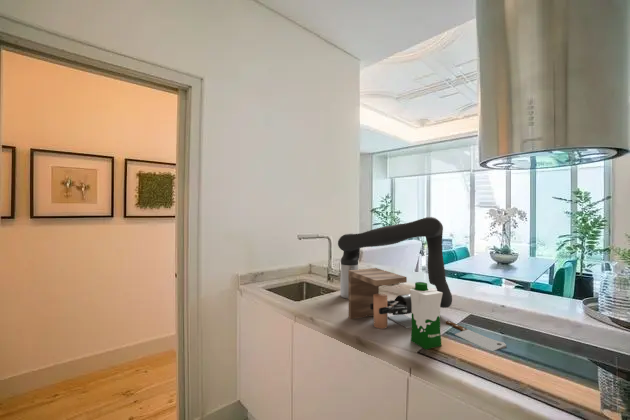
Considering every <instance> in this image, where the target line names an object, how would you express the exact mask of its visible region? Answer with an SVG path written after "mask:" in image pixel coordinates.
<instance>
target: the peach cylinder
mask: <svg viewBox="0 0 630 420" xmlns="http://www.w3.org/2000/svg"><path fill="white" fill-rule="evenodd" d="M387 300H388V295H387V294H386V293H380V292H379V293H378V294H374V295H373V312H374V315H373V327H374V328H376V329H381V330H382V329H384V330H385V329H387V328H388V327H389V325H388V324H389V323H388V319H389V318H388V317H389V316H388V314H389V313H386V314H379V308H383V307H387Z"/></svg>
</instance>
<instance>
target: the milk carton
mask: <svg viewBox="0 0 630 420" xmlns="http://www.w3.org/2000/svg"><path fill="white" fill-rule="evenodd" d="M408 291H409V294H410V296H411V302H412V313H411V318H412V327H411V330H410V331H411V332H410V334H411V335H410V342H411V343H414V344H415V345H417V346H419V347H420V348H422V349H424V350H430V349H434V348H438V347H442V337H441V336H442V335H441V307H440V304H441V299H442V294H443V293H442V292H439V291H437V289H434V288H429V287H428V283H426V282H422V281H418V282H417V281H416V282H414V288H409V290H408Z"/></svg>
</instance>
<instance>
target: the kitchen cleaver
mask: <svg viewBox="0 0 630 420" xmlns="http://www.w3.org/2000/svg"><path fill="white" fill-rule="evenodd" d="M445 325H447V326H450V327H452V328H454V329H456V330H459V332H457V333H454V335H455V336H456V337H459V338H462V339H463V340H466V341H468V342H470V343H472V344H475V345H477V346H480V347H482V348H484V349H487V350H489V351H492V352H494V351H495V352H496V351H497V350H501V349H505V348H507V344H506V343H505V342H503V341H501V340H496V339H493V338H490V337H488V336H485V335H482V334H480V333H478V332H474V331H472V329H471V330H470V329H469V328H466V327H464V326H462V325H459V324H457V323H455V322H453V321H450V320H446V321H445Z"/></svg>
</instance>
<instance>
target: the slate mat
mask: <svg viewBox="0 0 630 420" xmlns="http://www.w3.org/2000/svg"><path fill="white" fill-rule="evenodd" d="M388 319H389V320H391V321H392V322H394V323H397V324H398V325H400V326H402V327H404V328H406V329H410V328H411V329H412V317H410V316H408V315H407V314H404V315H403V314H402V315H391V316H388Z"/></svg>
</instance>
